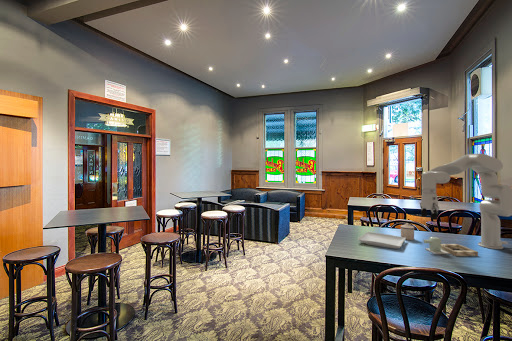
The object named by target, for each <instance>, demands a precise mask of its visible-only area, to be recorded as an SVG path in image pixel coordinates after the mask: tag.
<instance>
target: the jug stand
mask: <svg viewBox="0 0 512 341" xmlns="http://www.w3.org/2000/svg"><path fill="white" fill-rule="evenodd" d="M441 249H442V250H444V251H446V252H448V253H449V254H448V255H452V256H454V257H479V252H478V251H477V250H474V249H472V248H469V247H467V246H465V245H461V244H458V243H441Z"/></svg>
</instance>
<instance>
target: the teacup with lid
mask: <svg viewBox="0 0 512 341" xmlns="http://www.w3.org/2000/svg"><path fill="white" fill-rule="evenodd" d="M400 237H405V238H406V239H405V241H414V240H415V227H414V226H413V225H411V224H410V223H408V222H406V223H405V224H402V225H400Z"/></svg>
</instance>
